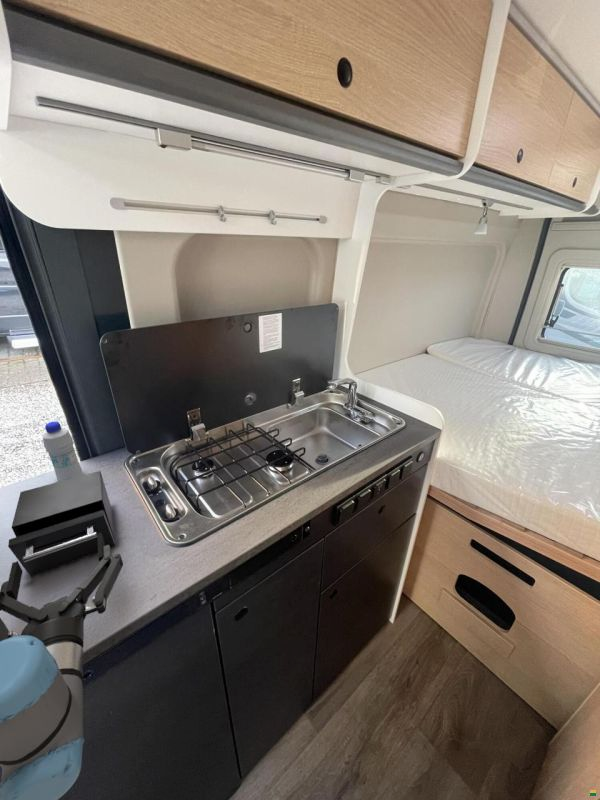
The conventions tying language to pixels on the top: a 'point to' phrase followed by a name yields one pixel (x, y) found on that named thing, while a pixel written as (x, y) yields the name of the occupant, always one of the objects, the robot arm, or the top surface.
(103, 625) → the top surface
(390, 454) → the top surface
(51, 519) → the oven
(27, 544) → the oven door
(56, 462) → the bottle
